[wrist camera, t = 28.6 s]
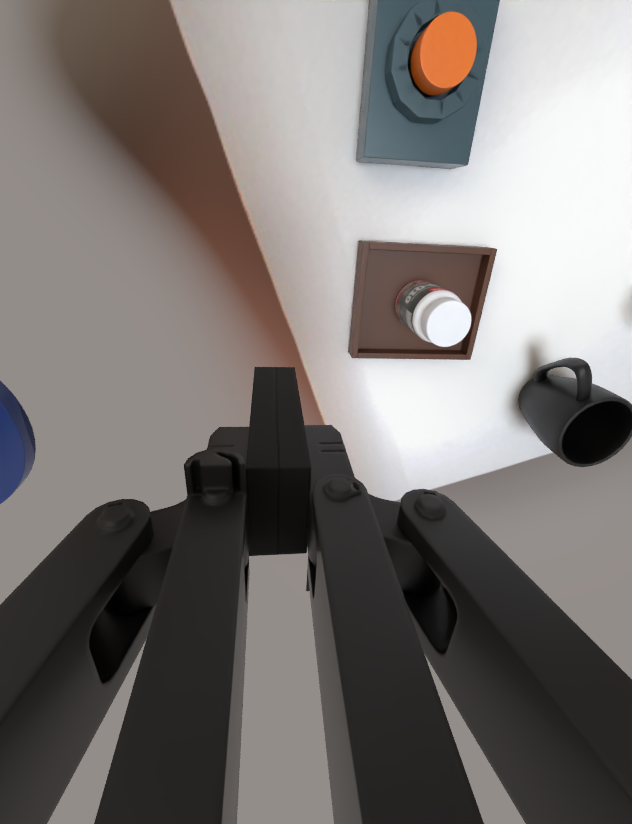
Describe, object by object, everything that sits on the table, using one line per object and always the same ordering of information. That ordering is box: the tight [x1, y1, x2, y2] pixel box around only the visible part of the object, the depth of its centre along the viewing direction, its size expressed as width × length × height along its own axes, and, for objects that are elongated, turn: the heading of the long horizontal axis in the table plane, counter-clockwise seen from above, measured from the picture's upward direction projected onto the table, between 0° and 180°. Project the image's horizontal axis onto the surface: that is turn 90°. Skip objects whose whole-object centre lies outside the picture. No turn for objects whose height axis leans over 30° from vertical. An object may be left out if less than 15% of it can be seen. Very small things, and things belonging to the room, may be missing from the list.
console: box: [356, 0, 500, 169], centre depth 30 cm, size 12×9×5 cm
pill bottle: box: [396, 280, 471, 347], centre depth 37 cm, size 5×5×8 cm
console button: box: [411, 12, 477, 96], centre depth 27 cm, size 4×4×2 cm
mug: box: [518, 358, 632, 467], centre depth 43 cm, size 8×12×10 cm
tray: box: [348, 241, 497, 360], centre depth 40 cm, size 13×11×2 cm
